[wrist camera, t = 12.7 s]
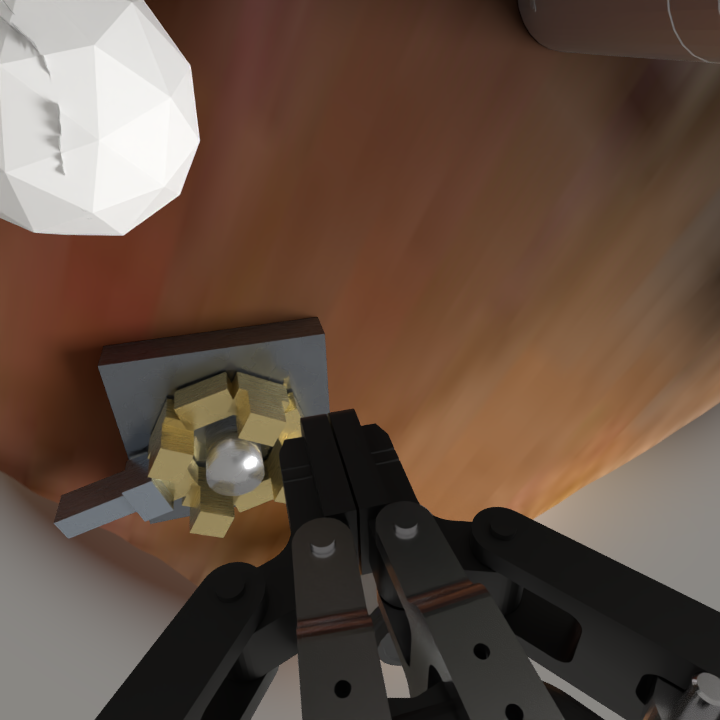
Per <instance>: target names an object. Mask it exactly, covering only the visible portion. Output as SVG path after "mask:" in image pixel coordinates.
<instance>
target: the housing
mask: <svg viewBox="0 0 720 720" xmlns="http://www.w3.org/2000/svg"><path fill="white" fill-rule="evenodd" d="M98 368H99V371H100V374H101V377H102V380H103V383H104V386H105V389H106V392H107V395H108V398H109V401H110V404H111V407H112V410H113V413H114V416H115V419H116V422H117V425H118V428H119V431H120V434H121V437H122V440H123V443H124V446H125V449H126V452H127V455H128V458H129V460H131V459H134V458H136V457H139V456H141V455H144V454H147V453H148V448H149V439H150V437H151V434H152V432H153V430H154V427H155V425H156V423H157V420H158V418H159V416H160V414H161V411H162V409H163V407H164V404H165V402H166V400H167V399H171V400H174V397H175V391H178V390H180V389H183V388H185V387H188V386H191V385H193V384H196V383H198V382H201V381H204V380H206V379H209V378H211V377H214V376H216V375H219V374H222V373H224V372H226V373H227V375H228V377H229V379H230V381H231V383H232V381H233V379H234V377H235V375H236V373H237V372H241V373H244V374H248V375H251V376H254V377H258V378H261V379H264V380H268V381H271V382H274V383H278V384H281V385H284V386H286V390H287V394H288V393H290V392H293V394H294V396H295V398H296V400H297V403H298V405H299V407H300V409H301V411H302V413H303V416H304V417H308V416H314V415H320V414H328V413H330V411H329V395H328V379H327V363H326V347H325V333H324V331H323V329H322V326H321V324H320V321H319V319H318V317H314V318H307V319H300V320H292V321H285V322H278V323H270V324H263V325H255V326H248V327H241V328H233V329H226V330H219V331H211V332H204V333H196V334H189V335H182V336H174V337H167V338H160V339H152V340H145V341H137V342H130V343H123V344H115V345H108V346H103V350H102V353H101V357H100V360H99V364H98ZM277 440H278V439H277ZM276 442H277V441H276ZM276 442H275V444H276ZM275 444H274V445H275ZM273 447H274V446H269V445H265V444H260V443H256V442H252V441H248V440H244V439H240V438H238V433H237V424H236V415H231V416H229V417H226V418H224V419H221V420H219V421H216V422H214V423H211V424H208V425H206V426H203V427H201V428H198V429H196V430H194V456H193V459H194V461H195V462H196V464H197V465H198V466H200V467H205V468H206V479H207V483H208V485H209V487H210V488H211V489H212V490H213V491H215V492H217V493H219V494H221V495H225V496H239V495H243V494H246V493H248V492H250V491H252V490H254V489H255V488H256V487H257V486H259V484H260V483H261V482H262V480H263V477H264V465H263V461H265V460H267V458H268V456H269V454H270V453H271V451H272V449H273ZM234 507H236V506H235V505H234ZM187 516H190V507H188V506H182V498H179V499H177V500H174V510H173V511H170V512H168V513H165V514H163V515H160V516H158V517H155V518H153V519H150V520H149V521H150V524H152V523H157V522H162V521H167V520H172V519H177V518H182V517H187Z"/></svg>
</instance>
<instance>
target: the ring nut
mask: <svg viewBox="0 0 720 720" xmlns="http://www.w3.org/2000/svg"><path fill="white" fill-rule="evenodd" d="M231 415H236V424H237V433H238V438H240V439H244V440H248V441H252V442H256V443H260V444H265V445H269V446H274V447H273V449H272V451H271V453H270V454H269V456H268V458H267V460H265V461H263V465H264V477H263V480H262V482H261V483H260V484H259V486H257V487H256V488H255V489H254V490H252V491H250V492H248V493H246V494H243V495H239V496H225V495H221V494H219V493H217V492H215V491H213V490H212V489H211V488H210V487H209V485H208V483H207V479H206V468H205V467H200V466H198V465H197V464H196V462H195V461H194V459H193V456H194V430H196V429H198V428H201V427H203V426H206V425H208V424H211V423H214V422H216V421H219V420H221V419H224V418H226V417H229V416H231ZM303 417H304V416H303V413H302V411H301V409H300V407H299V405H298V403H297V400H296V398H295V396H294V394H293V392H290V393H288V394H287V390H286V386H284V385H281V384H278V383H274V382H271V381H268V380H264V379H261V378H258V377H254V376H251V375H248V374H244V373H241V372H237V373H236V375H235V377H234V379H233V381H232V383H231V381H230V379H229V377H228V375H227V373H226V372H224V373H222V374H219V375H216V376H214V377H211V378H209V379H206V380H204V381H201V382H198V383H196V384H193V385H191V386H188V387H185V388H183V389H180V390H178V391H175V397H174V400H171V399H167V400H166V402H165V404H164V407H163V409H162V411H161V414H160V416H159V418H158V420H157V423H156V425H155V427H154V430H153V432H152V434H151V437H150V439H149V448H148V453H147V454H144V455H141V456H139V457H136V458H134V459H131V460H129V461H126V468H125V471H122V472H120V473H117V474H115V475H112V476H110V477H107V478H104V479H102V480H99V481H97V482H94V483H92V484H89V485H87V486H84V487H82V488H79V489H76V490H74V491H71V492H69V493H66V494H64V495H62V496H61V499H60V502H59V506H58V509H57V513H56V516H55V520H54V524H55V525H56V526H57V527H58V528H59V529H60V530H61V531H62V532H63V533H64V534H65V536H66V537H67V538H71V537H74V536H76V535H79V534H81V533H84V532H86V531H89V530H91V529H94V528H96V527H99V526H101V525H104V524H106V523H109V522H111V521H114V520H116V519H119V518H121V517H124V516H126V515H129V514H131V513H134V512H137V513H138V514H139V515H140V516H141V517H142V519H143V520H144V521H148V520H150V519H153V518H155V517H158V516H160V515H163V514H165V513H168V512H170V511H173V510H174V500H177V499H179V498H182V506H188V507H190V533H195V534H201V535H208V536H215V537H221V538H224V536H225V534H226V532H227V530H228V528H229V527H230V525H231V523H232V521H233V519H234V505H235V506H236V507H237V509H238V510H239V512H242V511H245V510H247V509H250V508H252V507H255V506H257V505H260V504H262V503H265V502H267V501H270V500H272V499H274V501H275V502H280V503H285V504H286V501H285V495H284V488H283V481H282V474H281V467H280V461H279V452H280V449H281V447H282V444H283V442H284V440H286V439H292V438H297V437H302V435H301V426H300V418H303ZM277 439H278V440H277ZM276 441H277V442H276ZM275 442H276V444H275ZM274 444H275V445H274Z"/></svg>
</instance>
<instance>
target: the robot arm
mask: <svg viewBox="0 0 720 720" xmlns="http://www.w3.org/2000/svg"><path fill="white" fill-rule="evenodd" d="M518 6H519V10H520V13H521V16H522V19H523V22H524V24H525V26H526V28H527V29H528V31H529V33H530V34H531V35H532V36H533V37H534V38H535V39H536V40H537V41H538V43H540V44H541V45H543V46H545V47H547V48H548V49H551V50H555V51H560V52H571V53H585V54H595V55H609V56H623V57H638V58H652V59H666V60H680V61H695V62H709V63H720V0H518ZM300 426H301V435H302V437H297V438H292V439H286V440H284V442H283V444H282V447H281V449H280V452H279V461H280V467H281V474H282V481H283V488H284V495H285V501H286V507H287V513H288V519H289V525H290V531H291V536H290V539H289V542H288V544H287V545H286V547H285V548H284V550H283V551H282V552H281V553H280V554H279V555H277V556H276V557H275V558H273V559H272V560H270V561H268V562H267V563H265V564H263V565H261V566H259V567H257V568H256V567H255V566H253V565H251V564H248V563H243V562H233V563H228V564H225V565H222V566H220V567H218V568H217V569H215V570H214V571H212V572H211V573H210V574H209V575H208V576H207V577H206V578H205V579H204V580H203V582H202V583H201V584H200V585H199V587H198V588H197V589H196V591H195V592H194V593H193V594H192V596H191V597H190V598H189V599H188V601H187V602H186V603H185V605H184V606H183V607H182V608H181V610H180V611H179V612H178V614H177V615H176V616H175V617H174V619H173V620H172V621H171V623H170V624H169V625H168V626H167V628H166V629H165V630H164V632H163V633H162V634H161V635H160V637H159V638H158V639H157V641H156V642H155V643H154V644H153V646H152V647H151V648H150V650H149V651H148V652H147V653H146V655H145V656H144V657H143V659H142V660H141V661H140V662H139V664H138V665H137V666H136V667H135V669H134V670H133V671H132V673H131V674H130V675H129V677H128V678H127V679H126V680H125V682H124V683H123V684H122V685H121V687H120V688H119V689H118V691H117V692H116V693H115V694H114V696H113V697H112V698H111V699H110V701H109V702H108V703H107V705H106V706H105V707H104V708H103V710H102V711H101V713H100V714H99V715H98V716H97V717H96V719H95V720H251V718H252V716H253V714H254V713H255V711H256V709H257V707H258V705H259V704H260V702H261V700H262V698H263V697H264V695H265V693H266V691H267V689H268V687H269V685H270V684H271V682H272V680H273V679H274V677H275V675H276V673H277V671H278V667H279V665H280V664H282V663H283V662H285V661H287V660H288V659H290V658H291V657H293V656H294V655H296V654H298V665H299V679H300V694H301V709H302V720H604V719H603V718H601V717H600V716H598V715H597V714H596V713H594V712H593V711H591V710H590V709H588V708H587V707H585V706H584V705H582V704H581V703H580V702H578V701H576V700H575V699H574V698H572V697H571V696H570V695H568V694H566V693H565V692H563V691H562V690H560V689H558V688H556V687H554V686H553V685H551V684H548V683H546V682H544V681H542V680H541V678H540V677H539V675H538V673H537V672H536V670H535V668H534V667H533V665H532V663H531V662H530V660H529V658H531V659H532V660H534V661H535V662H537V663H538V664H540V665H542V666H543V667H545V668H546V669H548V670H549V671H551V672H553V673H554V674H556V675H557V676H559V677H560V678H562V679H563V680H565V681H567V682H568V683H570V684H571V685H573V686H574V687H576V688H578V689H579V690H581V691H582V692H584V693H585V694H587V695H588V696H590V697H592V698H593V699H595V700H596V701H598V702H599V703H601V704H602V705H604V706H606V707H607V708H609V709H610V710H612V711H613V712H615V713H617V714H618V715H620V716H621V717H623V718H624V719H626V720H720V612H718V611H716V610H714V609H712V608H710V607H708V606H706V605H704V604H702V603H700V602H698V601H696V600H694V599H692V598H690V597H688V596H686V595H684V594H682V593H680V592H678V591H676V590H674V589H671V588H670V587H668V586H666V585H663V584H662V583H660V582H658V581H656V580H653V579H651V578H649V577H647V576H645V575H643V574H641V573H639V572H637V571H635V570H633V569H631V568H629V567H627V566H625V565H623V564H621V563H619V562H617V561H615V560H613V559H611V558H609V557H607V556H605V555H603V554H601V553H599V552H597V551H595V550H593V549H591V548H588V547H587V546H585V545H582V544H581V543H579V542H576V541H575V540H572V539H570V538H568V537H566V536H564V535H562V534H560V533H558V532H556V531H554V530H552V529H550V528H548V527H546V526H544V525H542V524H540V523H538V522H536V521H534V520H532V519H530V518H528V517H526V516H524V515H522V514H520V513H518V512H516V511H513V510H511V509H508V508H503V507H491V508H487V509H484V510H482V511H480V512H479V513H478V514H477V515H476V516H475V517H474V519H473V522H466V521H451V520H445V519H441V518H438V517H435V516H434V515H432V514H431V513H430V512H429V511H428V510H427V509H426V508H425V507H423V506H422V505H420V504H419V502H418V500H417V498H416V496H415V494H414V491H413V489H412V487H411V485H410V482H409V480H408V478H407V476H406V473H405V471H404V469H403V467H402V464H401V462H400V461H399V458H398V456H397V453H396V451H395V450H394V447H393V444H392V442H391V440H390V438H389V435H388V434H387V433H386V432H385V431H384V430H383V429H381V428H380V427H379V426H378V425H377V424H370V425H364V426H361V425H360V422H359V420H358V417H357V415H356V412H355V410H354V409H349V410H343V411H337V412H331V413H328V414H320V415H314V416H308V417H303V418H300ZM359 566H360V570H361V573H362V575H365V574H369V573H373V576H374V579H375V583H376V586H377V602H378V605H379V608H380V610H381V613H382V616H383V618H384V621H385V623H386V626H387V629H388V631H389V634H390V636H391V639H392V641H393V644H394V647H395V649H396V652H397V654H398V657H399V660H400V662H401V665H402V667H403V670H404V673H405V676H406V679H407V683H408V688H409V693H410V698H387V693H386V689H385V683H384V678H383V674H382V668H381V663H380V658H379V653H378V648H377V643H376V638H375V633H374V628H373V623H372V619H371V616H370V615H368V611H367V607H366V601H365V596H364V591H363V586H362V581H361V575H360V570H359ZM528 657H529V658H528Z"/></svg>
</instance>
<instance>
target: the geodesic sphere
mask: <svg viewBox="0 0 720 720" xmlns="http://www.w3.org/2000/svg"><path fill="white" fill-rule="evenodd" d="M199 142H200V139H199V130H198V122H197V114H196V106H195V98H194V90H193V81H192V73H191V66H190V64H189V63H188V62H187V60H186V59H185V57H184V56H183V55H182V53H181V52H180V50H179V49H178V48H177V46H176V45H175V43H174V42H173V41H172V39H171V38H170V36H169V35H168V34H167V32H166V31H165V29H164V28H163V27H162V25H161V24H160V22H159V21H158V20H157V18H156V17H155V15H154V14H153V13H152V11H151V10H150V8H149V7H148V6H147V4H146V3H145V1H144V0H0V218H2V219H4V220H6V221H9V222H11V223H13V224H16V225H18V226H20V227H23V228H25V229H27V230H30V231H32V232H34V233H47V234H62V235H125V234H126V233H127V232H129V231H130V230H132V229H133V228H134V227H136V226H137V225H139V224H140V223H141V222H143V221H144V220H146V219H147V218H148V217H150V216H151V215H152V214H154V213H155V212H157V211H158V210H159V209H161V208H162V207H164V206H165V205H166V204H168V203H169V202H171V201H172V200H173V199H175V198H176V197H177V196H179V195H180V193H181V190H182V187H183V185H184V182H185V179H186V177H187V174H188V171H189V169H190V166H191V163H192V161H193V158H194V155H195V153H196V150H197V147H198V144H199Z"/></svg>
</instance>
